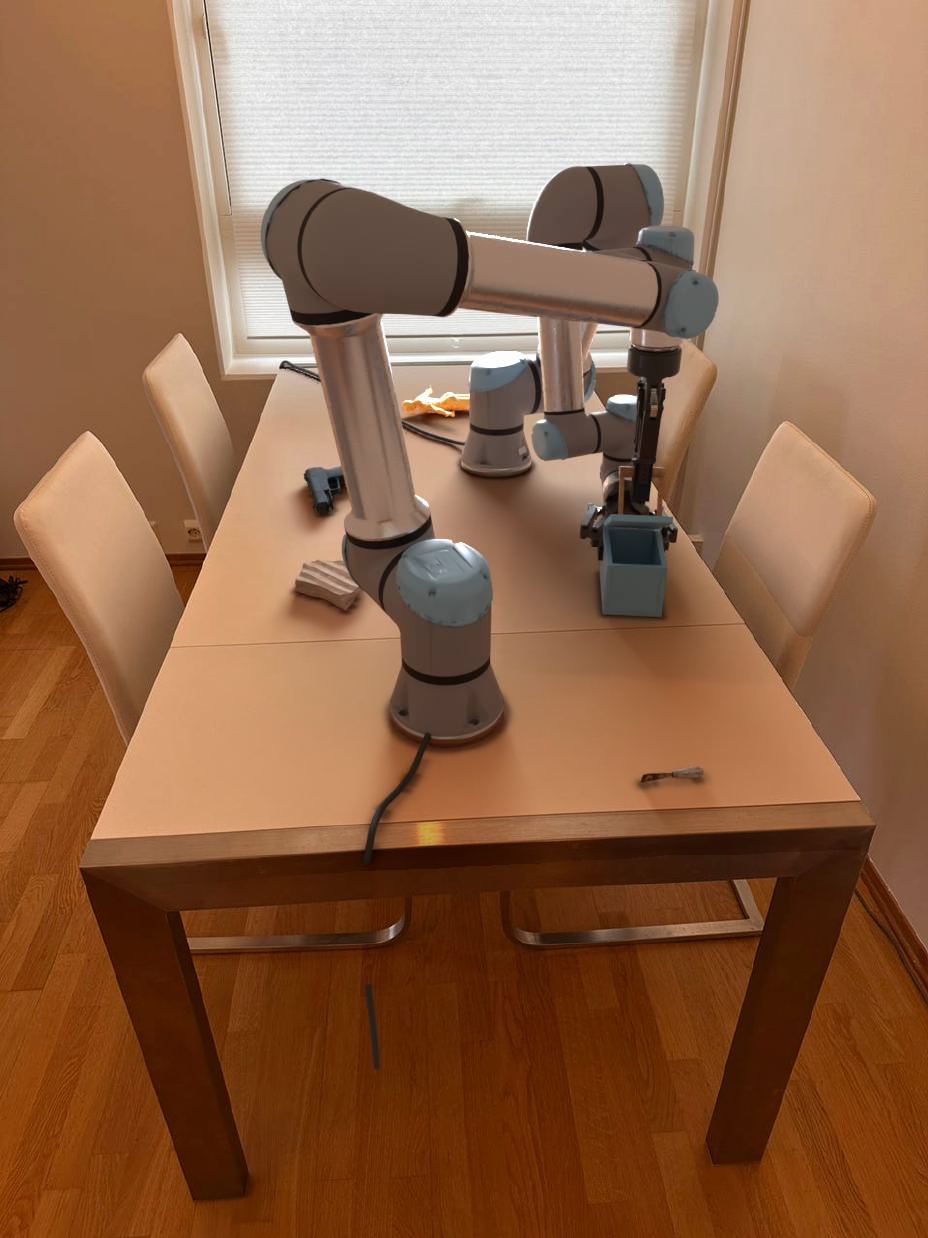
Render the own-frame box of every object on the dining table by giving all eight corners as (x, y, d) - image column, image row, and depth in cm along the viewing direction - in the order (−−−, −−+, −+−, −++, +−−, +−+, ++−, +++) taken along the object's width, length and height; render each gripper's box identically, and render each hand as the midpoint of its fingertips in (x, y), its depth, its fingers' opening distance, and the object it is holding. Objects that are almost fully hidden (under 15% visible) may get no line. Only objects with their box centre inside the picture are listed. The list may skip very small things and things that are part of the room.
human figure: (395, 413, 223) (394, 398, 221) (438, 390, 237) (438, 375, 235) (462, 429, 215) (462, 413, 213) (502, 404, 229) (503, 388, 227)
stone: (382, 577, 152) (381, 564, 151) (347, 611, 143) (346, 598, 142) (316, 564, 157) (314, 551, 155) (279, 596, 147) (277, 583, 146)
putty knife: (703, 777, 109) (705, 767, 109) (642, 788, 108) (644, 777, 107) (700, 772, 110) (702, 762, 109) (639, 782, 109) (640, 771, 108)
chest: (661, 617, 141) (667, 568, 137) (602, 614, 142) (607, 565, 137) (653, 575, 153) (659, 529, 148) (599, 573, 154) (603, 527, 149)
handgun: (374, 509, 176) (313, 517, 173) (359, 474, 190) (302, 481, 188) (373, 494, 174) (311, 502, 172) (358, 460, 188) (301, 466, 186)
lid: (672, 523, 134) (675, 464, 133) (610, 520, 134) (613, 463, 134) (659, 529, 148) (662, 476, 148) (603, 527, 149) (606, 474, 148)
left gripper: (688, 359, 120) (668, 518, 133) (676, 332, 133) (659, 480, 145) (632, 358, 121) (617, 516, 133) (625, 331, 133) (613, 478, 146)
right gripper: (680, 518, 167) (696, 577, 148) (563, 514, 169) (563, 571, 150) (685, 481, 163) (702, 536, 144) (565, 477, 165) (565, 531, 146)
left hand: (639, 497), depth 139 cm, fingers closed on lid, 2 cm apart
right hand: (631, 554), depth 147 cm, fingers closed on chest, 9 cm apart
